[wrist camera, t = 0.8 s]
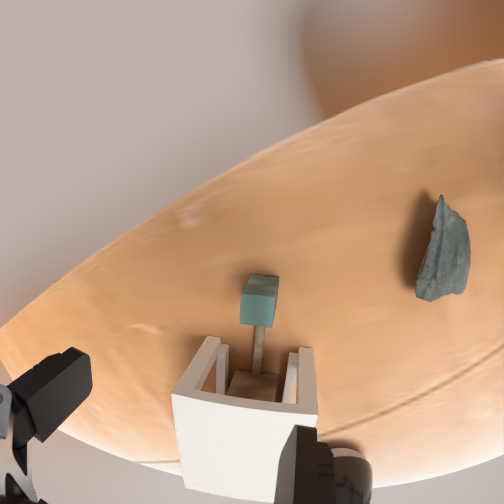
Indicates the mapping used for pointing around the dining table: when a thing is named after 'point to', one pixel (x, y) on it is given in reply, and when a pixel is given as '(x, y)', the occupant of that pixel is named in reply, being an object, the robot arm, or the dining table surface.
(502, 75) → the dining table surface
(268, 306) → the tethered block
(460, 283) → the stone
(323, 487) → the robot arm
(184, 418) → the white open frame stand
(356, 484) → the pump dispenser
